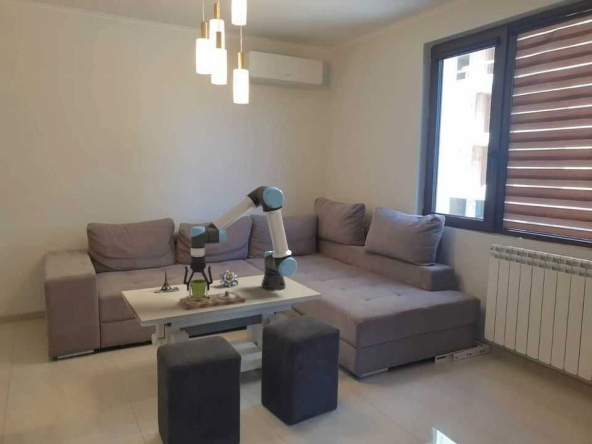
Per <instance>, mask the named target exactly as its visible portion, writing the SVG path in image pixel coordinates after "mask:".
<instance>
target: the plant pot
mask: <svg viewBox="0 0 592 444" xmlns="http://www.w3.org/2000/svg"><path fill="white" fill-rule="evenodd" d="M189 283H190V285H191V295H193V297H194V298H203V297H204V295H206V284H207V282H206V281H205V279H203V278H202V279H200V278H199V279H191V281H190V282H189Z"/></svg>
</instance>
